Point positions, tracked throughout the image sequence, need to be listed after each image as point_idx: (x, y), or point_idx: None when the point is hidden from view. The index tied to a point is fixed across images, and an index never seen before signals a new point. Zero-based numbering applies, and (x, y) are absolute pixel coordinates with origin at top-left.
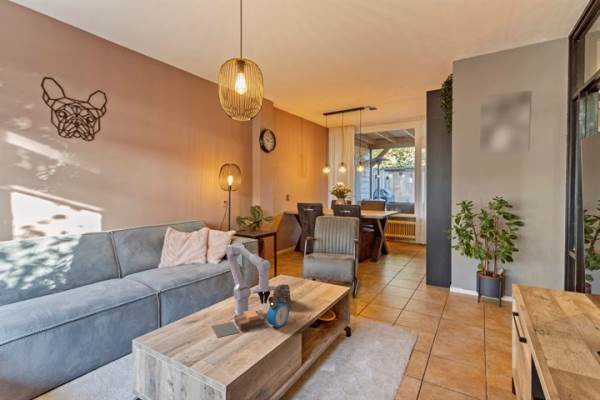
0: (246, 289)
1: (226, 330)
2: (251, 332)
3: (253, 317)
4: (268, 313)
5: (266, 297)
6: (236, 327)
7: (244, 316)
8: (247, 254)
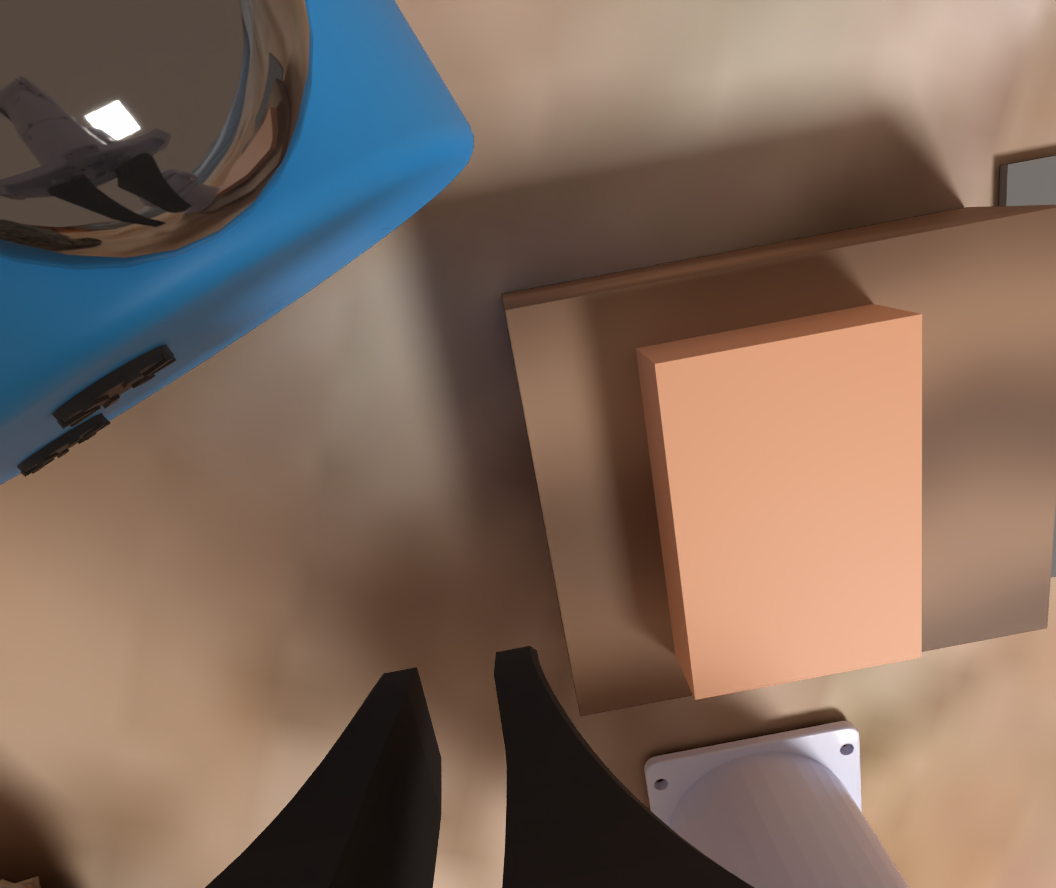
0: None
1: None
2: (803, 90)
3: (785, 334)
4: (426, 80)
5: (347, 832)
6: None
7: None
8: None
